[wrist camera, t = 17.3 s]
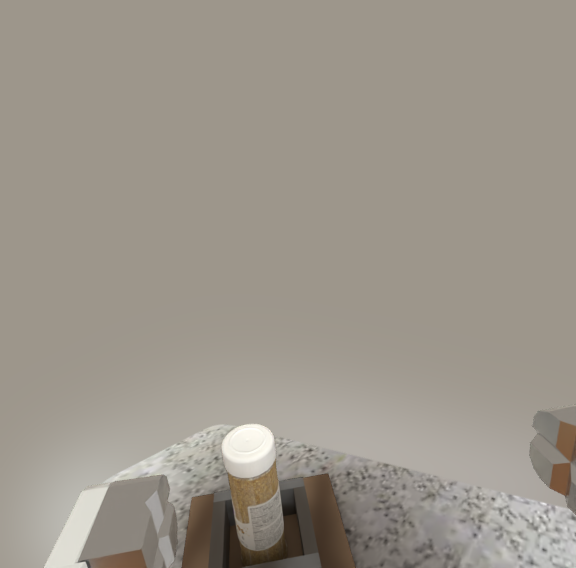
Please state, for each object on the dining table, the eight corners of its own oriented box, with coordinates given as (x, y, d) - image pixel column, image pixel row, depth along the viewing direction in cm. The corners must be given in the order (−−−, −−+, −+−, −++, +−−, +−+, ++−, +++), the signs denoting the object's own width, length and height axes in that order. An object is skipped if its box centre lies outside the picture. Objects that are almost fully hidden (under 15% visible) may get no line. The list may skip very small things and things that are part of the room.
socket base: (328, 481, 44) (326, 449, 43) (375, 644, 29) (373, 603, 28) (193, 505, 43) (186, 473, 41) (168, 690, 27) (155, 649, 26)
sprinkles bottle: (236, 542, 37) (216, 431, 33) (279, 524, 38) (265, 415, 34) (248, 589, 32) (226, 467, 28) (296, 566, 34) (281, 448, 30)
